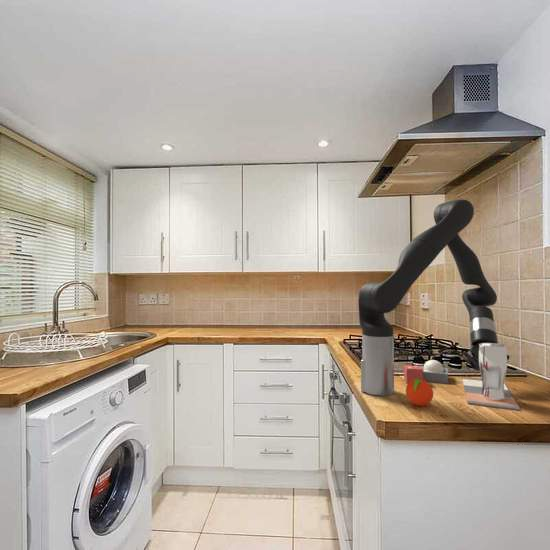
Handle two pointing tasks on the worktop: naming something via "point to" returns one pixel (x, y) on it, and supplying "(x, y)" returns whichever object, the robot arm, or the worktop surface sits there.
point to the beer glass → (492, 370)
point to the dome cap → (433, 366)
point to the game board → (475, 398)
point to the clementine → (419, 392)
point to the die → (412, 373)
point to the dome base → (436, 376)
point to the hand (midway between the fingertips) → (488, 382)
